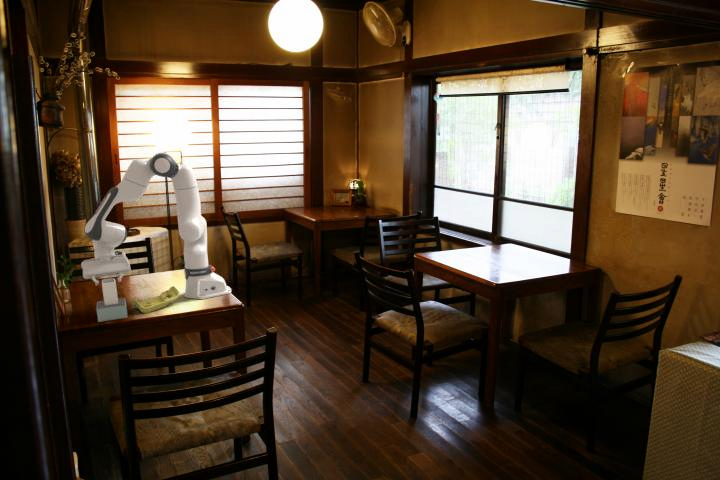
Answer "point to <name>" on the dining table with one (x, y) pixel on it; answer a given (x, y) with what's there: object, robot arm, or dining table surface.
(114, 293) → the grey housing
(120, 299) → the stand
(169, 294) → the plastic component
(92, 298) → the dining table surface
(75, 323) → the dining table surface
